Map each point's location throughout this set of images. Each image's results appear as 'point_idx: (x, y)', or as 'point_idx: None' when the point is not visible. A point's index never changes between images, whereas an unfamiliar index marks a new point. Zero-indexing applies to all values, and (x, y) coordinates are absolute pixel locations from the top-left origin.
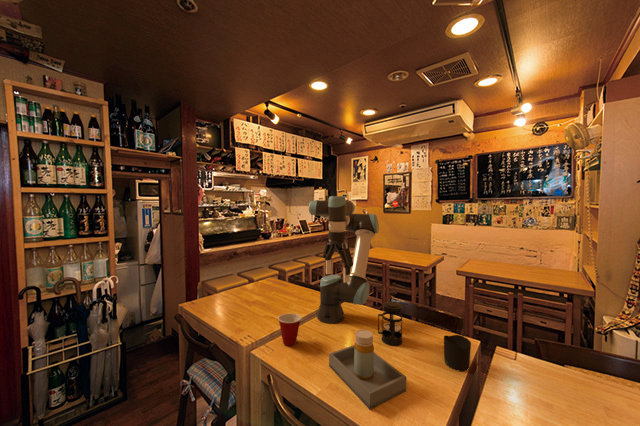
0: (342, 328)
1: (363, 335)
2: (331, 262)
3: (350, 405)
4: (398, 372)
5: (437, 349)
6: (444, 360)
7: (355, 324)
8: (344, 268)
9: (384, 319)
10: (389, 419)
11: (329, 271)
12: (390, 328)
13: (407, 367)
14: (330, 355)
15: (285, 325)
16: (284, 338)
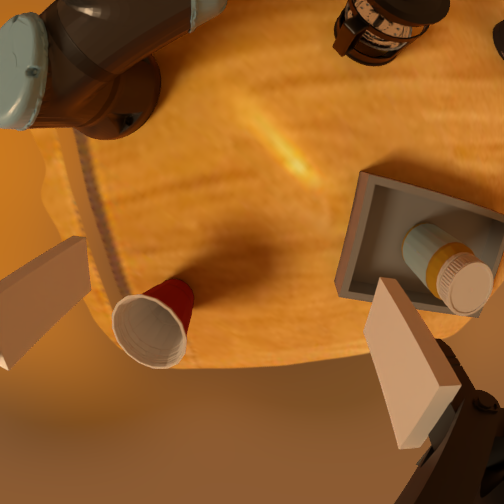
0: (200, 101)
1: (472, 298)
2: (8, 289)
3: (437, 322)
4: (498, 218)
5: (460, 5)
6: (499, 52)
7: (209, 44)
8: (414, 438)
9: (383, 38)
10: (492, 292)
11: (73, 271)
12: (380, 29)
13: (467, 130)
14: (345, 297)
15: (174, 354)
16: (178, 326)
